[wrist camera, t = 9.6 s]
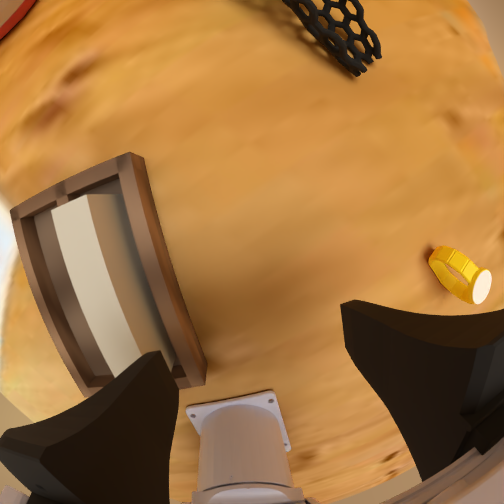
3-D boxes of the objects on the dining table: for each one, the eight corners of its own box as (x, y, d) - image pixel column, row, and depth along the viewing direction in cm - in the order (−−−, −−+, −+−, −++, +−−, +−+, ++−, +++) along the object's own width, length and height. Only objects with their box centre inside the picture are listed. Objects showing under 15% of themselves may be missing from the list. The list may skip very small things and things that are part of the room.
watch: (455, 274, 21) (497, 295, 16) (439, 296, 22) (481, 321, 16) (432, 233, 20) (483, 249, 14) (415, 257, 20) (464, 280, 14)
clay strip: (176, 354, 19) (163, 397, 14) (146, 360, 19) (128, 401, 14) (122, 194, 16) (86, 194, 11) (91, 205, 16) (50, 210, 11)
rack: (207, 363, 20) (205, 385, 18) (95, 379, 20) (84, 397, 17) (143, 157, 17) (129, 151, 14) (30, 207, 17) (9, 210, 14)
